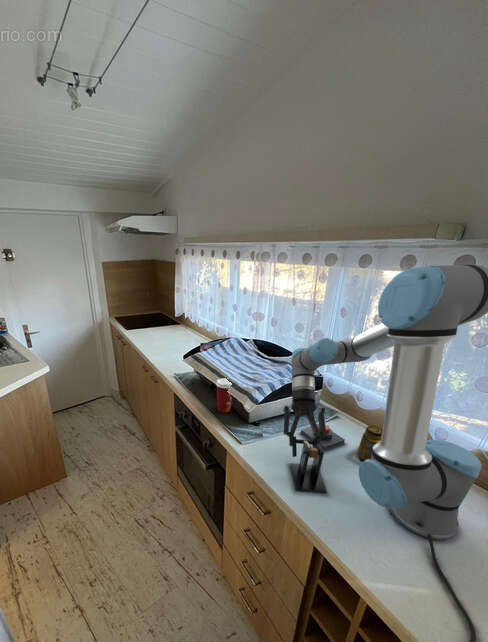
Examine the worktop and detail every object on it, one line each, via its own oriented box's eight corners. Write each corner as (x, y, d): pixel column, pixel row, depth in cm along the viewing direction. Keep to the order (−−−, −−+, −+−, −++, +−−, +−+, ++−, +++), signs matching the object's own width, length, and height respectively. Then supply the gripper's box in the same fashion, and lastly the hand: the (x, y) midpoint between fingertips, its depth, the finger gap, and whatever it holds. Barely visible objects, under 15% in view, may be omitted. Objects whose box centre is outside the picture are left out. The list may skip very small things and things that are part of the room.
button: (330, 432, 114) (331, 428, 113) (323, 435, 113) (324, 430, 112) (323, 427, 117) (324, 423, 116) (316, 430, 116) (317, 425, 115)
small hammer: (294, 443, 104) (295, 437, 103) (312, 445, 103) (313, 438, 103) (303, 457, 92) (303, 449, 91) (323, 458, 91) (324, 451, 91)
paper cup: (233, 413, 134) (234, 385, 127) (215, 413, 134) (216, 385, 128) (231, 405, 141) (232, 377, 134) (214, 405, 141) (215, 377, 134)
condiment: (381, 459, 106) (391, 431, 100) (367, 468, 102) (377, 439, 96) (360, 448, 111) (369, 421, 106) (347, 457, 107) (355, 429, 102)
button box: (343, 444, 114) (346, 435, 112) (323, 451, 110) (325, 442, 108) (319, 428, 123) (321, 419, 122) (300, 434, 120) (301, 425, 118)
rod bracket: (289, 466, 104) (294, 435, 98) (316, 468, 103) (324, 437, 97) (295, 492, 93) (302, 459, 87) (325, 494, 92) (335, 461, 86)
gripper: (328, 395, 110) (331, 460, 103) (273, 392, 112) (273, 456, 106) (335, 388, 103) (339, 458, 96) (277, 386, 105) (277, 453, 99)
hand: (305, 457), depth 101 cm, fingers closed on small hammer, 6 cm apart
